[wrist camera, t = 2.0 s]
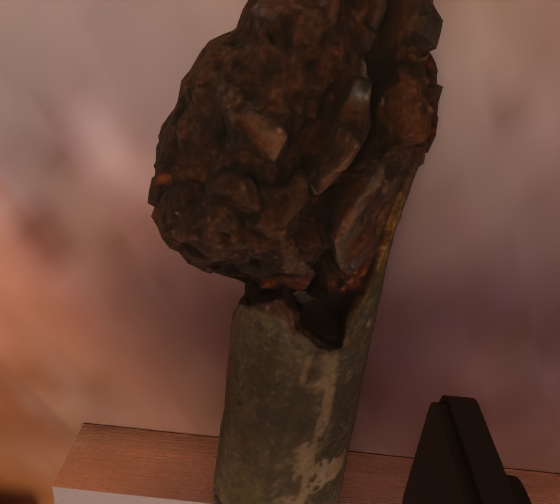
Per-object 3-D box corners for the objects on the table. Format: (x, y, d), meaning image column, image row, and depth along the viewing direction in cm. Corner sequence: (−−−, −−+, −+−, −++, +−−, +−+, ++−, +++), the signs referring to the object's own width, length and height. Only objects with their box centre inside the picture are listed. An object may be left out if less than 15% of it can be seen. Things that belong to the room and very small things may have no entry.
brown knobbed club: (340, 441, 22) (346, 580, 17) (177, 420, 22) (136, 553, 17) (455, -53, 14) (534, -62, 9) (189, -87, 14) (115, -115, 9)
